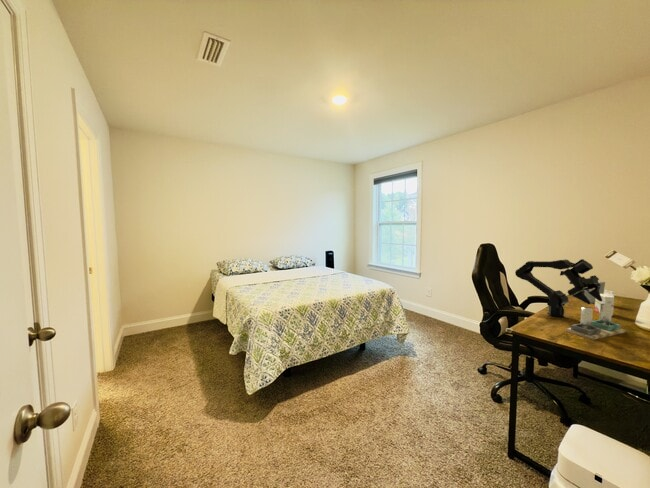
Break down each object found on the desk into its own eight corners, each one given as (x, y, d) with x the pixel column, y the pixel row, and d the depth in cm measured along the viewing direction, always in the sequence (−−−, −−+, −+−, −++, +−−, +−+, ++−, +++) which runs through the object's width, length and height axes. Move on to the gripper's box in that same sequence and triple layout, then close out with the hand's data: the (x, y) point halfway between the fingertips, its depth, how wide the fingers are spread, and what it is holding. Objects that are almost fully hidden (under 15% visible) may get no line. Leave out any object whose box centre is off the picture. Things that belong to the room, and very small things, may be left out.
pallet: (592, 339, 139) (593, 332, 139) (565, 330, 150) (565, 324, 150) (625, 332, 147) (626, 325, 147) (597, 324, 159) (597, 318, 158)
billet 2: (598, 327, 152) (599, 304, 151) (599, 325, 154) (601, 303, 153) (609, 329, 148) (611, 306, 147) (611, 327, 151) (612, 304, 150)
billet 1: (582, 332, 145) (583, 308, 144) (578, 329, 149) (579, 306, 148) (593, 333, 143) (594, 309, 142) (588, 330, 147) (589, 307, 146)
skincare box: (582, 301, 203) (584, 279, 202) (589, 300, 205) (591, 279, 204) (597, 304, 195) (598, 282, 194) (604, 303, 197) (605, 281, 196)
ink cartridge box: (593, 311, 182) (595, 288, 181) (602, 311, 181) (604, 289, 180) (604, 315, 174) (605, 292, 172) (613, 315, 173) (615, 292, 171)
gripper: (575, 273, 155) (597, 299, 146) (598, 268, 160) (621, 293, 151) (558, 283, 164) (578, 307, 155) (581, 278, 169) (602, 302, 160)
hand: (595, 302), depth 155 cm, fingers open, 9 cm apart
